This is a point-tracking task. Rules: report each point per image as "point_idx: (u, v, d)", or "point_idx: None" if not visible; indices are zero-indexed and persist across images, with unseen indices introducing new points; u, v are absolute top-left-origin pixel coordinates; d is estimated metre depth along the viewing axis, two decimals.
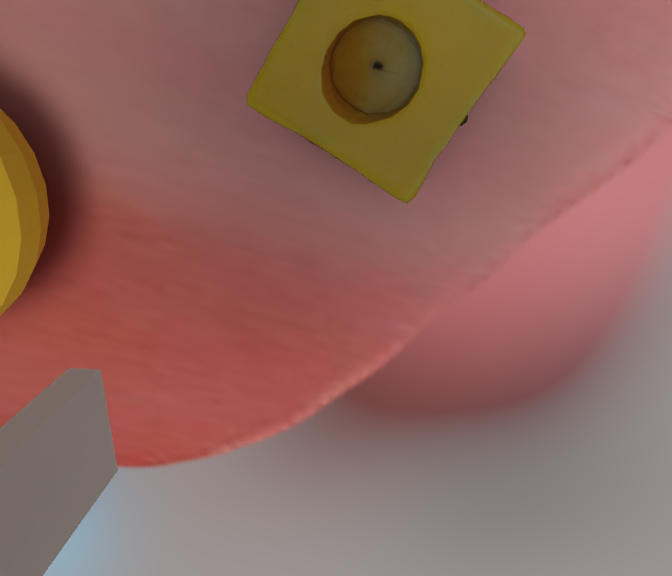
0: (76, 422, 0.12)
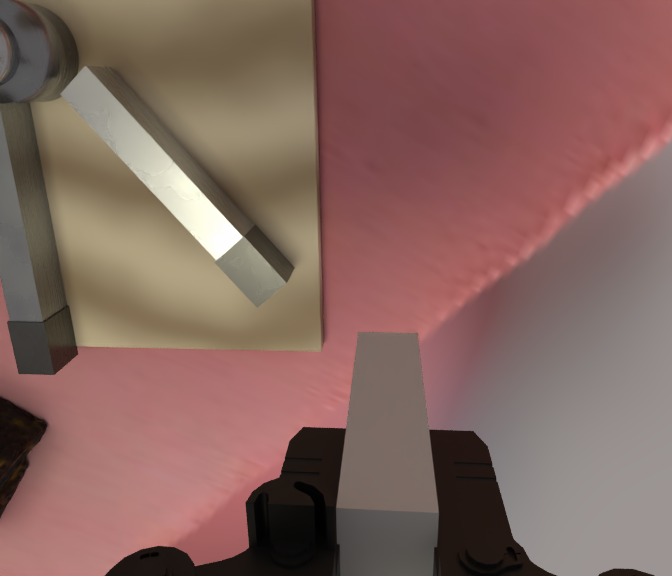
0: None
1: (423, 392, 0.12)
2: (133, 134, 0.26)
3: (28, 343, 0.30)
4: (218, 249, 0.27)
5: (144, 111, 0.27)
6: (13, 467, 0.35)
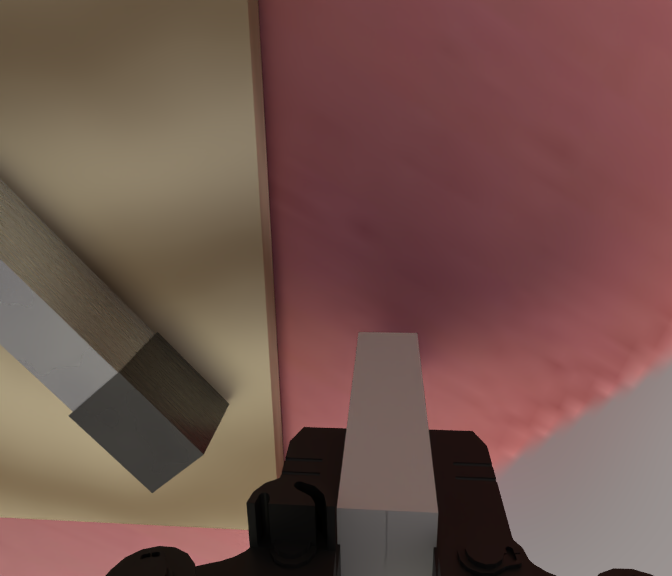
0: None
1: (422, 392, 0.12)
2: None
3: None
4: (74, 393, 0.14)
5: None
6: None
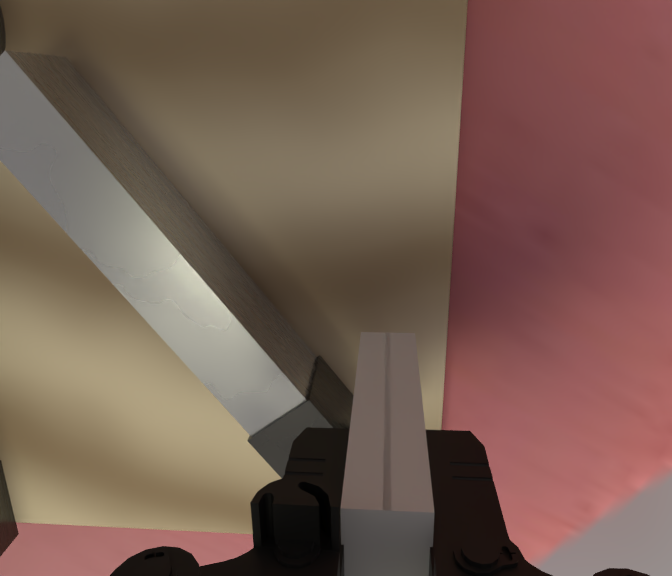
0: None
1: (420, 392, 0.12)
2: (101, 196, 0.13)
3: None
4: (256, 418, 0.14)
5: (127, 147, 0.14)
6: None
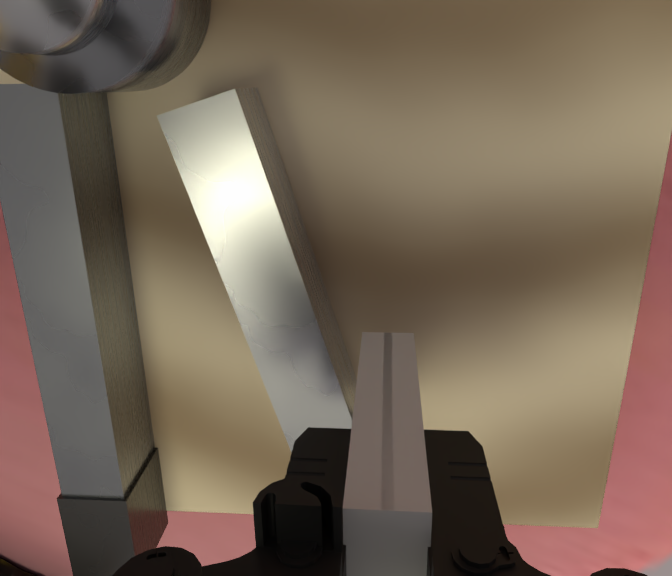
0: None
1: (418, 392, 0.12)
2: (265, 246, 0.13)
3: (95, 533, 0.16)
4: None
5: (288, 195, 0.14)
6: None
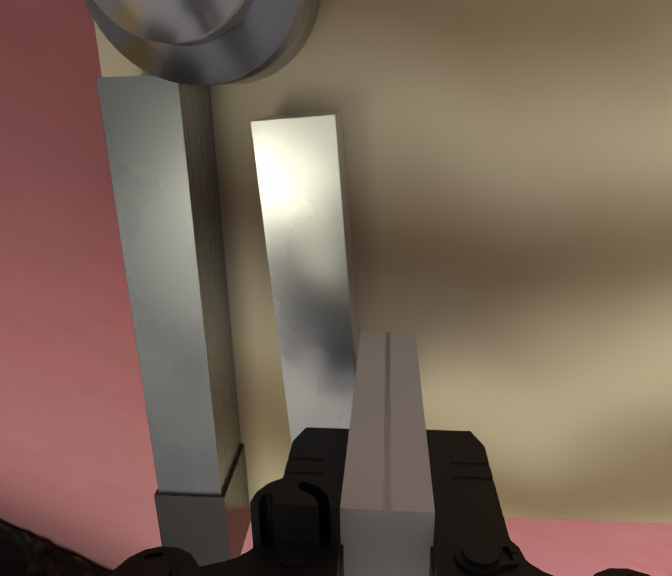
0: None
1: (420, 392, 0.12)
2: (323, 269, 0.13)
3: (190, 530, 0.16)
4: None
5: (348, 219, 0.14)
6: None
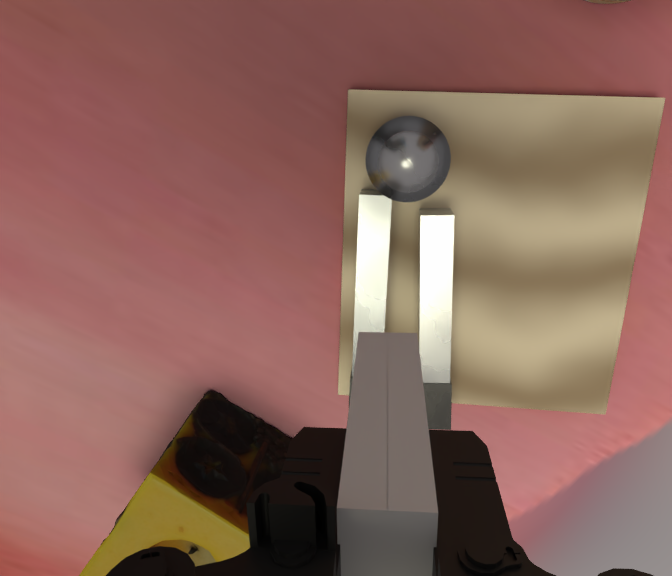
0: None
1: (422, 392, 0.12)
2: (442, 275, 0.32)
3: None
4: (427, 378, 0.34)
5: None
6: None
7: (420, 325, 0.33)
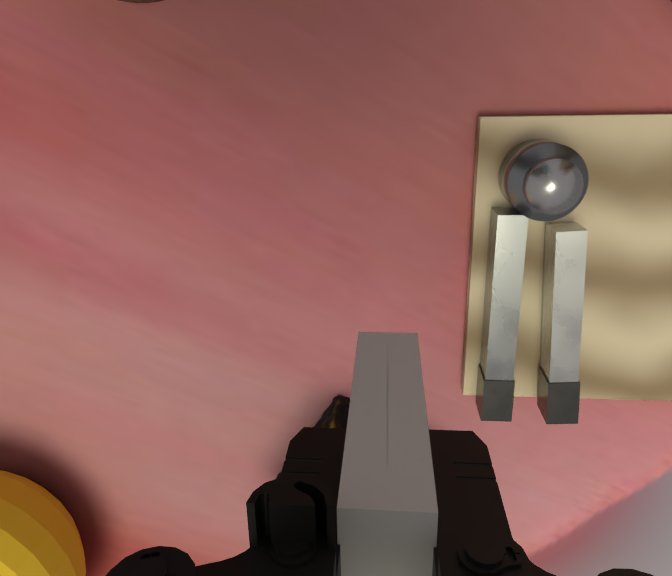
0: None
1: (422, 392, 0.12)
2: (575, 285, 0.35)
3: (496, 397, 0.38)
4: (557, 378, 0.37)
5: None
6: None
7: (552, 331, 0.36)
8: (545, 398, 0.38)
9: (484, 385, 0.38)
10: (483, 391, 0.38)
